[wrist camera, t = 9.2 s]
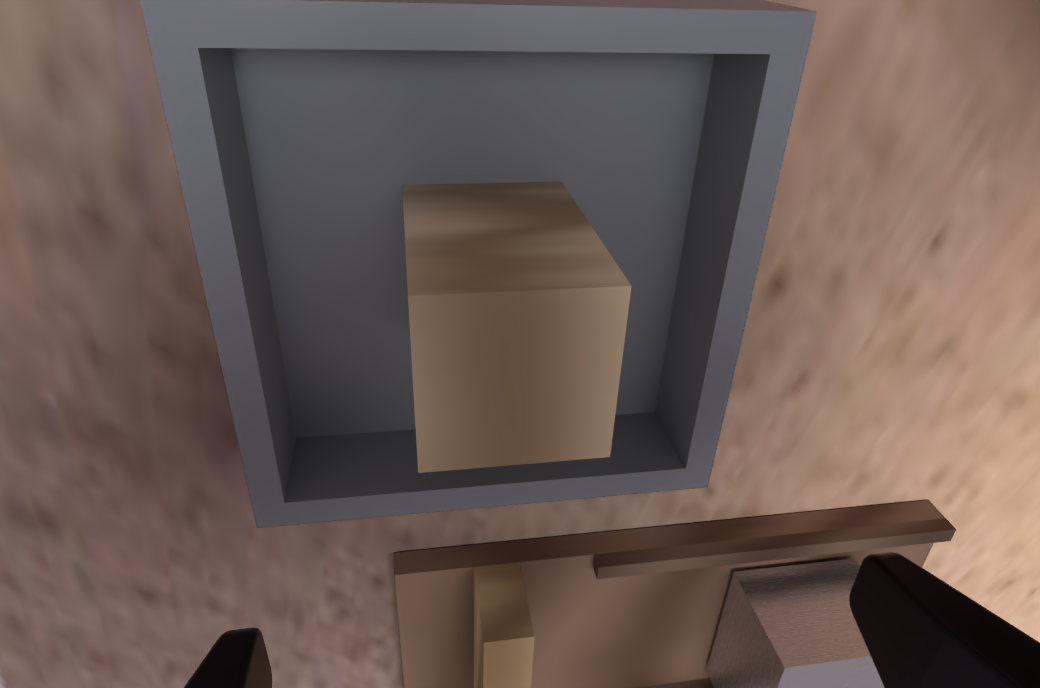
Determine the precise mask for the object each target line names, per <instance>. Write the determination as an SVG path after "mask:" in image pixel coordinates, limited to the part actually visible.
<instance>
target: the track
mask: <svg viewBox="0 0 1040 688" xmlns="http://www.w3.org/2000/svg"><path fill="white" fill-rule="evenodd" d="M955 531H956V529H955V528H954V527H953V526H952V525H951V524H950V522H949V521H948V520H947V519H946V518H945V517H944V516H943V515H942V514H941V513H940V512H939V511H938V510H937V509H936V507H935V506H934V505H933V504H932V503H931V502H930V501H929V500H923V501H913V502H903V503H893V504H883V505H872V506H862V507H852V508H842V509H832V510H822V511H812V512H802V513H791V514H781V515H771V516H761V517H751V518H741V519H731V520H720V521H710V522H700V523H690V524H680V525H670V526H660V527H650V528H639V529H629V530H619V531H609V532H599V533H589V534H579V535H568V536H558V537H548V538H538V539H528V540H518V541H508V542H498V543H487V544H477V545H467V546H457V547H447V548H437V549H427V550H416V551H406V552H396V553H394V569H395V586H396V598H397V609H398V621H399V633H400V644H401V656H402V668H403V679H404V688H714V687H713V684H712V682H711V680H710V677H709V675H708V673H707V666H708V663H709V659H710V656H711V652H712V648H713V645H714V641H715V638H716V634H717V630H718V627H719V623H720V620H721V616H722V612H723V609H724V605H725V602H726V598H727V594H728V591H729V587H730V584H731V580H732V576H733V573H734V572H737V571H746V570H755V569H764V568H773V567H782V566H791V565H800V564H809V563H818V562H827V561H836V560H845V559H854V558H855V559H856V561H857V562H858V563H859V565H860V566H861V563H862V561H863V559H864V558H865V557H866V556H868V555H870V554H878V553H886V552H895V553H898V554H901V555H902V556H904V557H906V558H907V559H909V560H911V561H912V562H914V563H915V564H917V565H918V566H920V567H922V566H923V564H924V562H925V560H926V558H927V556H928V554H929V552H930V549H931V547H932V545H933V543H935V542H944V541H951V539H952V537H953V535H954V533H955Z"/></svg>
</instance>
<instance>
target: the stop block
mask: <svg viewBox="0 0 1040 688" xmlns="http://www.w3.org/2000/svg"><path fill="white" fill-rule="evenodd" d="M402 194H403V212H404V231H405V250H406V269H407V287H408V305H409V323H410V340H411V357H412V375H413V392H414V409H415V426H416V444H417V461H418V473H424V472H436V471H448V470H460V469H472V468H484V467H496V466H508V465H520V464H532V463H544V462H556V461H568V460H580V459H592V458H604V457H610V453H611V445H612V437H613V429H614V421H615V413H616V405H617V397H618V389H619V381H620V373H621V365H622V357H623V349H624V342H625V334H626V326H627V318H628V310H629V302H630V294H631V284H630V283H629V281H628V280H627V278H626V277H625V275H624V274H623V272H622V271H621V269H620V268H619V266H618V265H617V263H616V262H615V260H614V259H613V258H612V256H611V255H610V253H609V252H608V250H607V249H606V247H605V246H604V244H603V243H602V241H601V240H600V238H599V237H598V235H597V234H596V232H595V231H594V229H593V228H592V226H591V225H590V223H589V222H588V220H587V219H586V217H585V216H584V214H583V213H582V211H581V210H580V208H579V207H578V205H577V204H576V202H575V201H574V199H573V198H572V196H571V195H570V193H569V192H568V190H567V189H566V187H565V186H564V184H563V183H562V182H515V183H466V184H418V185H402Z"/></svg>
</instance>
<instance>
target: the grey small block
mask: <svg viewBox="0 0 1040 688" xmlns="http://www.w3.org/2000/svg"><path fill="white" fill-rule="evenodd" d="M859 568H860V565H859V563H858V562H857V561H856V559H855V558H854V559H845V560H836V561H827V562H818V563H809V564H800V565H791V566H782V567H773V568H764V569H755V570H746V571H737V572H734V573H733V576H732V580H731V584H730V587H729V591H728V594H727V598H726V602H725V605H724V609H723V612H722V616H721V620H720V623H719V627H718V630H717V634H716V638H715V641H714V645H713V648H712V652H711V656H710V659H709V663H708V666H707V673H708V675H709V677H710V680H711V682H712V684H713V687H714V688H884V686H883V683H882V681H881V679H880V676H879V674H878V672H877V669H876V667H875V665H874V663H873V660H872V658H871V656H870V653H869V651H868V649H867V646H866V644H865V642H864V639H863V637H862V635H861V633H860V630H859V628H858V626H857V623H856V621H855V619H854V616H853V614H852V611H851V608H850V602H849V595H850V591H851V588H852V586H853V583H854V581H855V578H856V576H857V573H858V571H859Z"/></svg>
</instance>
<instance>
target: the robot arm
mask: <svg viewBox="0 0 1040 688" xmlns="http://www.w3.org/2000/svg"><path fill="white" fill-rule="evenodd" d="M849 602H850V608H851V611H852V614H853V616H854V619H855V621H856V623H857V626H858V628H859V630H860V633H861V635H862V637H863V639H864V642H865V644H866V646H867V649H868V651H869V653H870V656H871V658H872V660H873V663H874V665H875V667H876V669H877V672H878V674H879V676H880V679H881V681H882V683H883V686H884V688H1040V643H1039V642H1038V641H1036V640H1035V639H1033V638H1032V637H1030V636H1028V635H1027V634H1025V633H1024V632H1022V631H1021V630H1019V629H1017V628H1016V627H1014V626H1013V625H1011V624H1010V623H1008V622H1006V621H1005V620H1003V619H1002V618H1000V617H999V616H997V615H995V614H994V613H992V612H991V611H989V610H988V609H986V608H984V607H983V606H981V605H980V604H978V603H977V602H975V601H973V600H972V599H970V598H969V597H967V596H966V595H964V594H962V593H961V592H959V591H958V590H956V589H955V588H953V587H951V586H950V585H948V584H947V583H945V582H944V581H942V580H940V579H939V578H937V577H936V576H934V575H933V574H931V573H929V572H928V571H926V570H925V569H923V568H922V567H920V566H918V565H917V564H915V563H914V562H912V561H911V560H909V559H907V558H906V557H904V556H902V555H901V554H898V553H895V552H886V553H878V554H870V555H868V556H866V557H865V558H864V559H863V561H862V563H861V566H860V568H859V571H858V573H857V576H856V578H855V581H854V583H853V586H852V588H851V591H850V595H849ZM184 688H272V673H271V667H270V663H269V659H268V655H267V651H266V647H265V643H264V639H263V636H262V633H261V631H260V630H259V629H257V628H247V629H239V630H230V631H227V632H225V633H224V634H222V635H221V636H220V637H219V639H218V640H217V641H216V643H215V644H214V646H213V647H212V648H211V650H210V651H209V653H208V654H207V656H206V657H205V658H204V660H203V661H202V663H201V664H200V666H199V667H198V668H197V670H196V671H195V673H194V674H193V676H192V677H191V678H190V680H189V681H188V683H187V684H186V685H185V687H184Z"/></svg>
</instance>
